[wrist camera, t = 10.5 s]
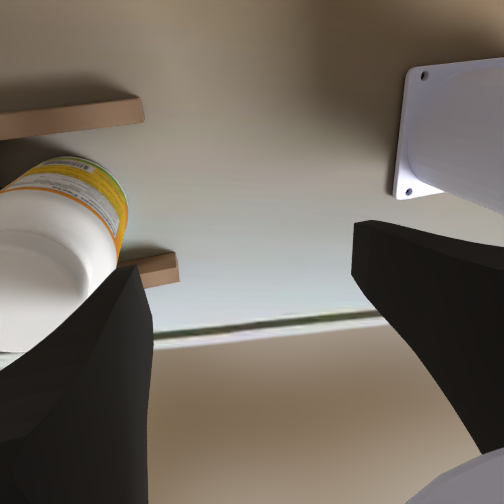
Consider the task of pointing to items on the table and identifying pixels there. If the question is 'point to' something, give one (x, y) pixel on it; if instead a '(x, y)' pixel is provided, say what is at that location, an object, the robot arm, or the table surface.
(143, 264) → the bay
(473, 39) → the table surface
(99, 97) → the table surface
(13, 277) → the supplement bottle
